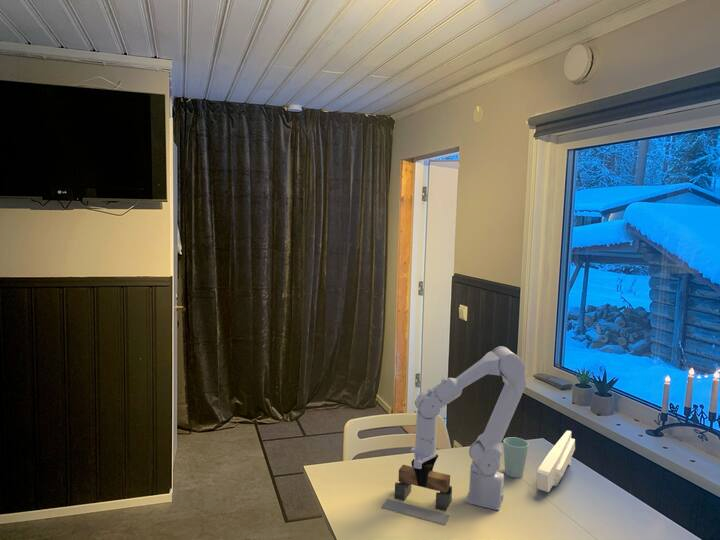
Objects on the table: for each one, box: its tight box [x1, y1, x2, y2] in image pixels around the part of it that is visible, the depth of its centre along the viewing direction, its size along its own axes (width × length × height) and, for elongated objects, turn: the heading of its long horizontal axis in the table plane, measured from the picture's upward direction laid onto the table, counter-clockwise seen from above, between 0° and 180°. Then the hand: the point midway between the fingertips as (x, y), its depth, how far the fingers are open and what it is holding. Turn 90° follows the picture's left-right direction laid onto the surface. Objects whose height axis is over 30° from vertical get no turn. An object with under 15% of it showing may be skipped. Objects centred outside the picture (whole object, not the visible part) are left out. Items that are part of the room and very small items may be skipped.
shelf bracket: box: [536, 430, 576, 493], centre depth 168 cm, size 6×25×13 cm, turn 143°
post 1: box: [393, 481, 412, 502], centre depth 155 cm, size 3×6×4 cm, turn 156°
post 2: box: [434, 485, 453, 513], centre depth 150 cm, size 3×6×4 cm, turn 156°
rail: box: [397, 464, 451, 493], centre depth 152 cm, size 14×4×4 cm, turn 66°
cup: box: [502, 436, 530, 478], centre depth 171 cm, size 8×8×10 cm
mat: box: [380, 498, 451, 526], centre depth 147 cm, size 18×5×1 cm, turn 66°
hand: (424, 482), depth 153 cm, fingers closed on rail, 3 cm apart
